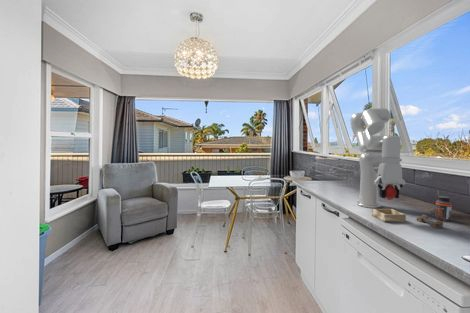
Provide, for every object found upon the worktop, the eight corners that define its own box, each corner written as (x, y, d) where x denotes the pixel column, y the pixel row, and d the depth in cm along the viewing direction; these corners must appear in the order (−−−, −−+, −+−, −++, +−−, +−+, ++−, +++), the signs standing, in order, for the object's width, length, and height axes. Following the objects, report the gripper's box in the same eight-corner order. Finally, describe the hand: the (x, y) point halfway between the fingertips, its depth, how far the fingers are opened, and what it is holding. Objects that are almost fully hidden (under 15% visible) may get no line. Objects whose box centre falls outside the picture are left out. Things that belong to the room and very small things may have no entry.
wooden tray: (371, 215, 125) (372, 209, 125) (391, 215, 125) (391, 208, 125) (384, 222, 115) (385, 214, 115) (405, 222, 115) (405, 214, 115)
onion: (383, 197, 123) (384, 182, 123) (397, 199, 120) (397, 183, 119) (381, 199, 119) (382, 183, 118) (395, 201, 115) (396, 184, 115)
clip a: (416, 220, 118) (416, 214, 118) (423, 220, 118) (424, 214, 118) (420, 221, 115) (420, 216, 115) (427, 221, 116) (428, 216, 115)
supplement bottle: (431, 218, 121) (433, 195, 120) (439, 217, 123) (440, 194, 122) (445, 222, 115) (447, 198, 115) (453, 220, 117) (455, 197, 117)
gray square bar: (417, 218, 119) (417, 216, 119) (420, 218, 119) (420, 216, 119) (439, 227, 107) (439, 224, 107) (441, 227, 107) (442, 224, 107)
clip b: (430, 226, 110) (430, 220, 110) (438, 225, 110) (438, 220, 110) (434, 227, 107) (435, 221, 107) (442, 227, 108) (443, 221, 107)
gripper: (402, 160, 122) (400, 196, 123) (368, 160, 122) (367, 196, 123) (413, 161, 115) (412, 199, 116) (378, 161, 114) (376, 199, 115)
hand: (389, 197), depth 119 cm, fingers closed on onion, 5 cm apart
